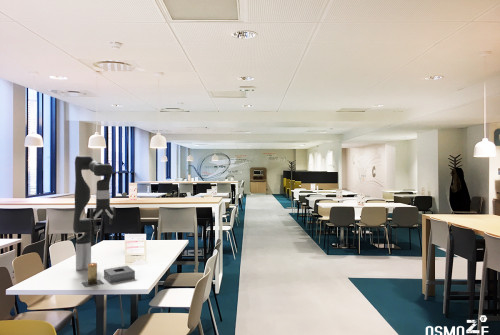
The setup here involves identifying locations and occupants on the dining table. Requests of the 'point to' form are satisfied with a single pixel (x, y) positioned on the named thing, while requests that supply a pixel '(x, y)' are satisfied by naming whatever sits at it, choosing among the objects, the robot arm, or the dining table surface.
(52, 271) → the dining table surface
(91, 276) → the brass cylinder
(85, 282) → the mat
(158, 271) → the dining table surface
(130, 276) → the housing
